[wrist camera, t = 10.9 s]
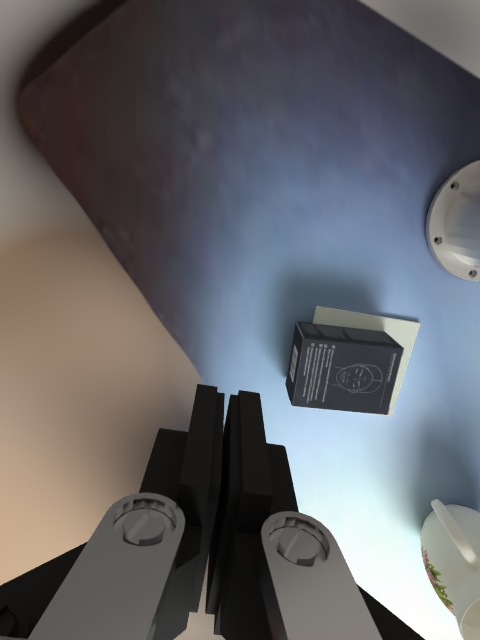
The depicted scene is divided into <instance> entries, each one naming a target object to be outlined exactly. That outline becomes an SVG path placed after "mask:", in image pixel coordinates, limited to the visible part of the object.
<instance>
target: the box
mask: <svg viewBox="0 0 480 640" xmlns="http://www.w3.org/2000/svg"><path fill="white" fill-rule="evenodd" d="M403 352H404V347H402V346H401V345H400V344H399V343H398V342H397V341H395V340H394V339H393V338H392V337H391V336H390V335H389V334H387V333H386V332H384V331H375V330H366V329H358V328H348V327H339V326H330V325H321V324H313V323H303V322H296V323H295V332H294V339H293V345H292V351H291V357H290V364H289V370H288V376H287V379H286V384H285V385H286V388H287V392H288V396H289V399H290V401H291V405H292V406H299V407H309V408H320V409H330V410H341V411H351V412H361V413H372V414H383V415H389V414H388V413H389V409H390V402H391V398H392V394H393V390H394V386H395V382H396V378H397V374H398V370H399V366H400V362H401V358H402V356H403Z"/></svg>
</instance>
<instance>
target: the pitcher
mask: <svg viewBox="0 0 480 640" xmlns="http://www.w3.org/2000/svg"><path fill="white" fill-rule="evenodd" d="M431 505H432V508H433V511H432V512H430V513H429V514H428V516H427V517H426V519H425V521H424V523H423V527H422V531H421V551H422V558H423V562H424V566H425V569H426V572H427V575H428V577H429V579H430V582H431V584H432V586H433V588H434V590H435V591H436V593H437V595H438V596H439V598H440V599H441V601H442V602H443V603H444V605H445V606H446V607H447V608H448V609H449V610H450V612H451V613H452V614H453V615H454V616H455V617H456V620H457V623H458V626H459V630H460V633H461V635H462V638H463V639H464V640H480V513H479V512H477V511H475V510H473V509H471V508H468V507H464V506H460V505H455V504H449V505H444V504H443V503H442V502H441V501H440V500H439V499H435V500H433V501H432V502H431Z"/></svg>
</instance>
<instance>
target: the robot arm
mask: <svg viewBox="0 0 480 640" xmlns="http://www.w3.org/2000/svg"><path fill="white" fill-rule="evenodd" d="M451 184H452V185H453V187H452V188H451ZM435 238H436V241H435V242H434V239H435ZM426 240H427V243H428V247H429V250H430V252H431V254H432V256H433V258H434V259H435V261H436V262H437V263H438V264H439V265H440V266H441V267H442V268H443V269H444V270H446V271H447V272H448V273H450V274H452V275H454V276H457V277H459V278H462V279H465V280H470V281H480V160H477V161H473V162H471V163H469V164H467V165H465V166H463V167H462V168H460V169H459V170H457V171H456V172H454V173H453V174H452V175H451V176H450V177H449V178H448V179H447V180H446V181H445V182H444V183H443V184H442V186H441V187H440V188H439V190H438V191H437V193H436V194H435V196H434V198H433V200H432V202H431V204H430V207H429V211H428V214H427V219H426ZM469 272H470V274H469ZM224 396H225V393H218V392H217V387H214V386H208V385H201V384H197V389H196V395H195V401H194V405H193V411H192V417H191V421H190V427H189V432H184V431H176V430H170V429H163V428H160V429H159V431H158V434H157V437H156V440H155V443H154V446H153V450H152V453H151V456H150V459H149V463H148V466H147V469H146V472H145V475H144V478H143V481H142V484H141V488H140V491H139V493H136V494H132V495H129V496H126V497H123V498H121V499H120V500H118V501H117V502H115V503H114V504H113V505H112V506H111V507H110V508H109V510H107V512H106V514H105V515H104V517H103V519H102V520H101V522H100V523H99V525H98V526H97V528H96V530H95V532H94V533H93V534H92V536H91V538H90V539H89V541H88V542H86V543H84V544H82V545H80V546H78V547H76V548H74V549H72V550H70V551H68V552H66V553H64V554H62V555H60V556H58V557H56V558H54V559H52V560H50V561H48V562H46V563H44V564H42V565H40V566H38V567H36V568H34V569H32V570H30V571H28V572H26V573H24V574H22V575H21V576H18V577H17V578H15V579H13V580H11V581H9V582H7V583H5V584H3V585H1V586H0V640H173V639H175V638H176V637H177V636H178V635H179V634H181V633H182V632H183V631H184V630H185V629H186V627H187V622H188V616H189V612H196V613H197V612H198V607H199V601H200V596H201V591H202V586H203V580H204V575H205V570H206V565H207V559H208V554H209V563H208V579H207V593H206V610H205V613H206V614H214V615H215V619H214V620H215V621H214V634H216V635H222V636H223V637H224V638H225V639H226V640H425V639H424V638H422V637H421V636H420V635H419V634H418V633H416V632H415V631H414V630H413V629H411V628H410V627H409V626H408V625H406V624H405V623H404V622H403V621H402V620H400V619H399V618H398V617H397V616H395V615H394V614H393V613H392V612H390V611H389V610H388V609H387V608H386V607H384V606H383V605H382V604H381V603H379V602H378V601H377V600H376V599H374V598H373V597H372V596H371V595H369V594H368V593H367V592H366V591H365V590H363V589H362V588H361V587H360V586H358V585H357V584H356V582H355V580H354V578H353V576H352V574H351V572H350V570H349V567H348V565H347V563H346V561H345V559H344V557H343V555H342V552H341V550H340V548H339V546H338V544H337V542H336V540H335V538H334V537H333V535H332V534H331V532H330V531H329V530H328V529H327V528H326V527H325V526H324V525H323V524H322V523H321V522H319V521H317V520H316V519H314V518H312V517H311V516H308V515H305V514H302V513H300V512H299V511H298V506H297V501H296V496H295V492H294V487H293V482H292V477H291V472H290V467H289V463H288V458H287V453H286V449H285V446H283V445H276V444H269V443H266V437H265V429H264V422H263V415H262V407H261V400H260V394H259V393H255V392H248V391H241V390H239V392H238V395H232V394H231V395H230V399H229V405H228V410H227V416H226V421H225V427H224V432H223V420H224Z"/></svg>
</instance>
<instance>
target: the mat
mask: <svg viewBox="0 0 480 640" xmlns="http://www.w3.org/2000/svg"><path fill="white" fill-rule="evenodd" d="M312 323H313V324H321V325H330V326H339V327H348V328H358V329H366V330H375V331H384V332H386V333H387V334H389V335H390V336H391V337H392V338H393V339H394V340H395V341H397V342H398V343H399V344H400V345H401V346H402V347H404V352H403V356H402V358H401V362H400V366H399V370H398V374H397V378H396V382H395V386H394V390H393V394H392V398H391V402H390V409H389V413H388V414H389V415H383V414H376V415H383V416H389V417H392V414H393V410H394V407H395V404H396V401H397V398H398V394H399V391H400V388H401V385H402V382H403V378H404V375H405V372H406V369H407V365H408V362H409V359H410V356H411V353H412V349H413V346H414V343H415V340H416V337H417V333H418V330H419V327H420V324H421V323H419V322H414V321H408V320H402V319H395V318H389V317H383V316H377V315H371V314H365V313H359V312H353V311H347V310H341V309H335V308H329V307H323V306H316V309H315V313H314V318H313V322H312ZM369 414H372V413H369Z"/></svg>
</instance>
